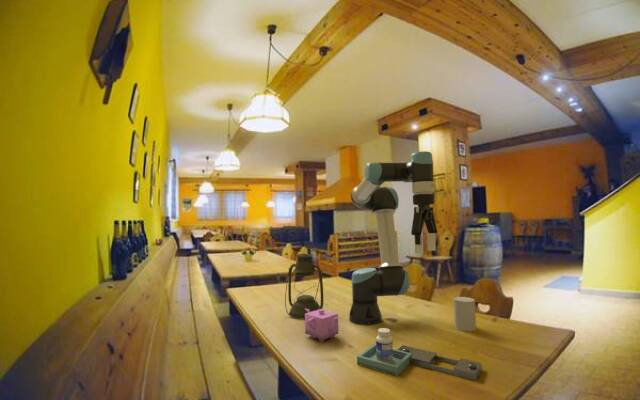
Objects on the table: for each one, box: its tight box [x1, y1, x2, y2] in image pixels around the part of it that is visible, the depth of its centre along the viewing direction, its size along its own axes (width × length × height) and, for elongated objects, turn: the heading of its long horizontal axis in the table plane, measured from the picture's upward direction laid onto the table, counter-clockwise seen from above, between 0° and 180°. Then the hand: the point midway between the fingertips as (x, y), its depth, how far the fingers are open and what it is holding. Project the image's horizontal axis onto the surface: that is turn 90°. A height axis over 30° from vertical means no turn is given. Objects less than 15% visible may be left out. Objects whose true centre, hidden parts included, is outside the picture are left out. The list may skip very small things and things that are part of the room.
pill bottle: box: [375, 327, 394, 363], centre depth 105 cm, size 5×5×10 cm
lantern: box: [284, 253, 324, 320], centre depth 162 cm, size 21×18×30 cm
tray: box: [356, 343, 412, 377], centre depth 105 cm, size 14×12×2 cm
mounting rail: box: [393, 344, 482, 382], centre depth 103 cm, size 26×8×3 cm, turn 53°
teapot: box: [304, 308, 340, 343], centre depth 129 cm, size 15×13×11 cm
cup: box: [453, 296, 477, 332], centre depth 136 cm, size 8×8×12 cm
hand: (425, 252), depth 116 cm, fingers open, 13 cm apart
